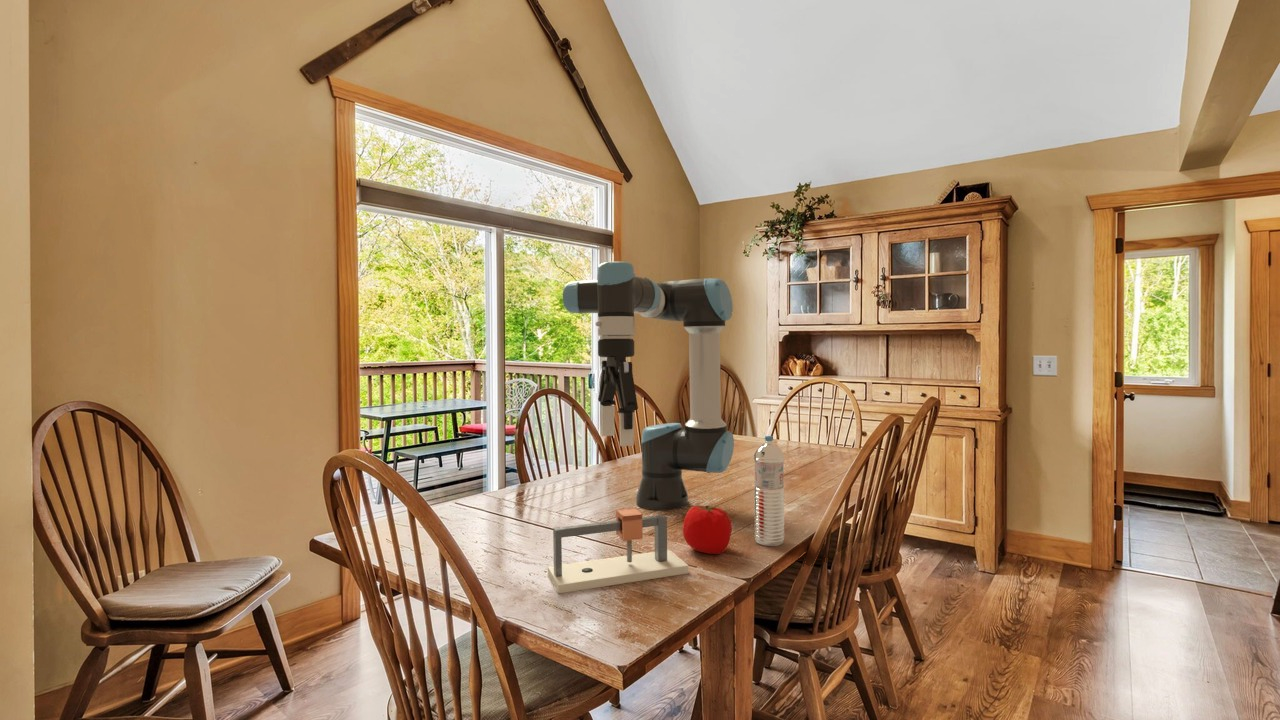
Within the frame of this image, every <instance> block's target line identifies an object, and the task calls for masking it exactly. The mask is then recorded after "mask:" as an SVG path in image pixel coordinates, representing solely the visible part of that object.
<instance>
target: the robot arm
mask: <svg viewBox="0 0 1280 720" xmlns="http://www.w3.org/2000/svg"><path fill="white" fill-rule="evenodd" d="M634 269H635V268H634V266H633V264H632V263H631V262H628V261H626V262H625V261H606V262H602V263H600V264H599V265H598V267H597V277H596V278H597V279H587V280H576V281H569V282H567V283H566V284H565V285H564V287H563V290H562V304H563V306H564V308H565V310H566V311H567V312H568V313H571V314H581V315H582V314H597V321H595V326H596V327H597V335H598V336H599V337H600V338H599V339H598V341H597V355H598V357H600V358H606V360H602V362H601V374H600V375H601V376H600V382H599V391H598V398H597V399H598V403H600V406H601V410H600V412H601V413H600V414H601V422H600V423H601V437H612V436H613V437H614V436H615V405H616V404H617V403H616V400H615V397H616V396H615V395H616V394H617V398H618V399H617V400H618V403H619V407H618V409H617V410H618V411H617V414H618V415H619V418H618V419H619V447H631V446H635V418H634V417H635V411H638V409H639V406H638V405H639V404H638V401H637V400H638V398H637V393H636V387H635V382H634V380H635V379H634V374H633V373H634V372H633V361H627V358H632V357H634V356H635V340H634V338H632V337H634V336H635V333H636V331H635V325H636V324H635V315H640V316H641V317H643V318H647V319H657V320H663V321H670V322H683V329H684V330H685V331H686V332H687V333H688V344H689V346H688V355H689V357H688V358H689V361H688V362H689V363H688V364H689V415H690V416H689V419H688V420H687V421H686V422H685V424H684V428H683V425H682V423H680V422H679V423H678V422H670V423H669V422H667V423H659V424H654V425H649V426H646V427H645V428H644V429H643V430H642V432H641V441H640V444H641V480H640V482H639V486H638V490H637V492H636V496H635V497H636V499H635V501H636V505H637V506H639V507H640V508H642V509H643V508H644V509H648V510H655V511H659V510H661V511H663V510H664V511H666V510H668V511H669V510H676V509H681V508H684V507H686V506H687V505H688V504H689V496H688V491H687V489H686V486H685V483H684V480H683V476H682V474H683V472H682V471H691V472H700V473H702V472H703V473H707V474H710V473H712V474H713V473H714V474H715V473H716V474H721V473H723V472H725V471H726V470H727V469H728V467H730V466H729V465H730V463H731V461H732V458H733V453H734V447H735V446H734V445H735V438H734V434H733V433H732V432H731V431H729V430H727V423H726V422H725V421H724V420H723V419H722V408H721V407H722V405H721V403H722V401H721V398H722V397H721V394H722V393H721V390H722V389H721V335H720V334H721V332H722V331H723V330H724V329H725V328H726V322H727V321H729V320H730V319H732V316H733V309H734V307H733V299H732V294H731V291H730V289H729V286H728V284H727V283H726V281H724V280H723V279H721V278H713V277H712V278H710V277H704V278H692V279H679V280H678V279H677V280H676V279H675V280H674V279H673V280H667V281H662V282H656V281H654V280H652V279H650V278H647V277H640V276H637V275H635V270H634Z"/></svg>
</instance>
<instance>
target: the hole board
mask: <svg viewBox="0 0 1280 720" xmlns="http://www.w3.org/2000/svg"><path fill="white" fill-rule="evenodd" d="M686 574H689V564H687V563H686V562H684V560H682V559H681V558H680V557H678V555H676V554H675V553H674V552H673V551H671V550H670V549H667V561H661V562H658V561H657V560H656V559H655V551H649V552H644V553H643V552H642V553H635V554H632V562H627V555H622V556H621V555H620V556H613V557H608V558H607V557H606V558H600V559H594V560H593V559H592V560H586V561H579V562H578V561H577V562H572V563H562V576H560V577H556V576H555V575H554V565H549V566H547V575H548V577H549V579H550V581H551V583H552V584H553V587H554V588H555V590H556V592H557V593H558V594H562V593H569V592H577V591H582V590H590V589H595V588H602V587H608V586H609V587H610V586H614V585H621V584H627V583H634V582H642V581H647V580H653V579H660V578H665V577H672V576H678V575H679V576H680V575H686Z"/></svg>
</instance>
